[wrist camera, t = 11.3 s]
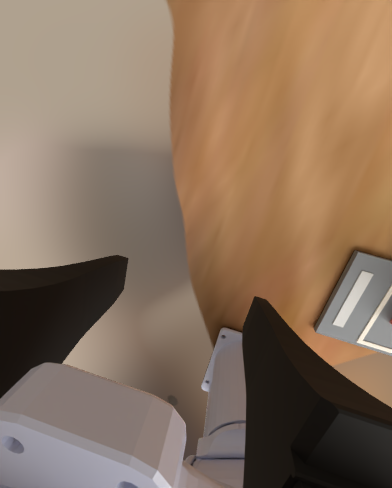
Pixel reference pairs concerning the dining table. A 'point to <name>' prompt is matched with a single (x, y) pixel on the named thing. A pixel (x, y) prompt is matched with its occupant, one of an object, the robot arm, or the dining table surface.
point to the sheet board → (361, 304)
